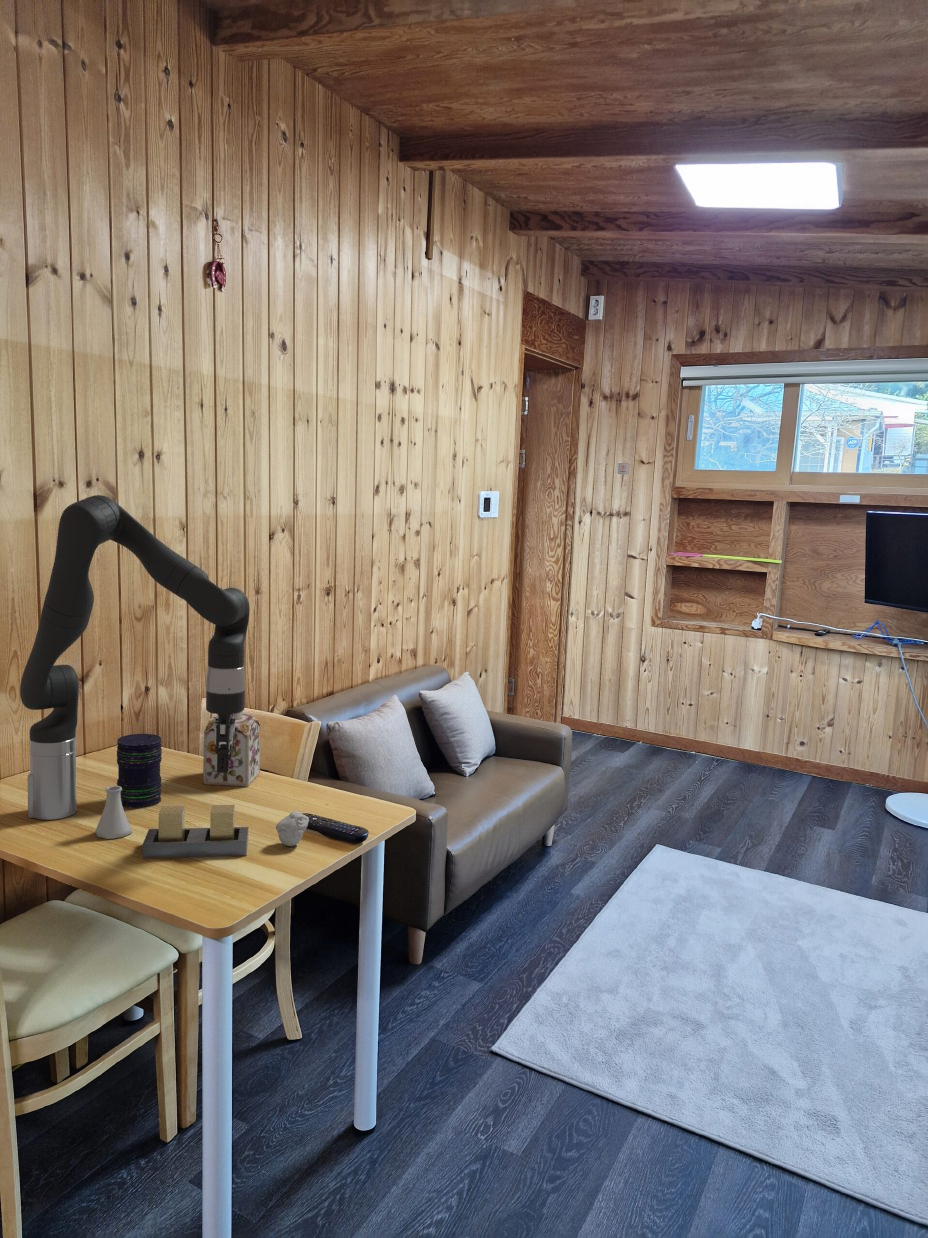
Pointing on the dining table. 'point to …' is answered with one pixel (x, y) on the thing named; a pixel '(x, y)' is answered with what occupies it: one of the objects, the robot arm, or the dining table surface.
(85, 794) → the dining table surface
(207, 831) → the grey slotted tray
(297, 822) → the frog figurine
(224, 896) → the dining table surface
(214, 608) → the robot arm
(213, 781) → the decorative jar
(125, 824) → the flask
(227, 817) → the beige wooden block
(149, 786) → the storage jar
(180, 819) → the block
